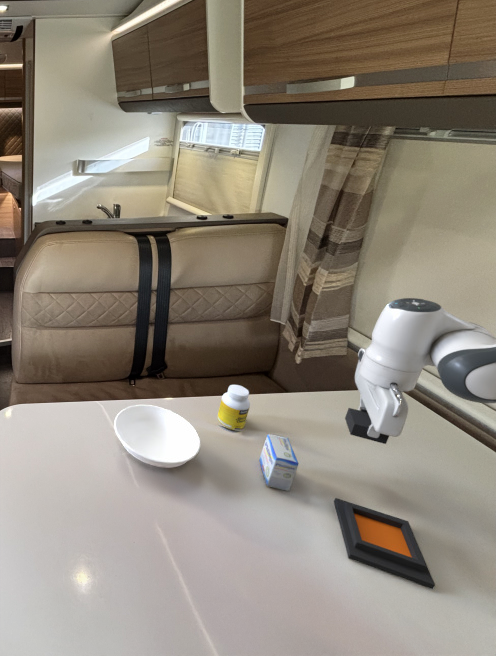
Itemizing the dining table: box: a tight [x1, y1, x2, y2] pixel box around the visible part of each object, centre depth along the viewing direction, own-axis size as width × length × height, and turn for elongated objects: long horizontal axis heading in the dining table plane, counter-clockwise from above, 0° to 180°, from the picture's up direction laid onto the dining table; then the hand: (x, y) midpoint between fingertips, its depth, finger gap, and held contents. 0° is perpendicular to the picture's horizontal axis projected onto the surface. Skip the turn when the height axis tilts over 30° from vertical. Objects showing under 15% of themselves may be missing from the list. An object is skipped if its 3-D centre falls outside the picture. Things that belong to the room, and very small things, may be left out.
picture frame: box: [333, 497, 436, 590], centre depth 84 cm, size 12×14×3 cm
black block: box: [344, 407, 390, 445], centre depth 94 cm, size 6×6×3 cm
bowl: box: [113, 404, 201, 469], centre depth 105 cm, size 20×20×6 cm
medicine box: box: [258, 433, 299, 492], centre depth 97 cm, size 8×4×9 cm, turn 161°
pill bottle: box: [216, 384, 251, 434], centre depth 112 cm, size 6×6×12 cm
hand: (367, 424), depth 93 cm, fingers closed on black block, 6 cm apart
